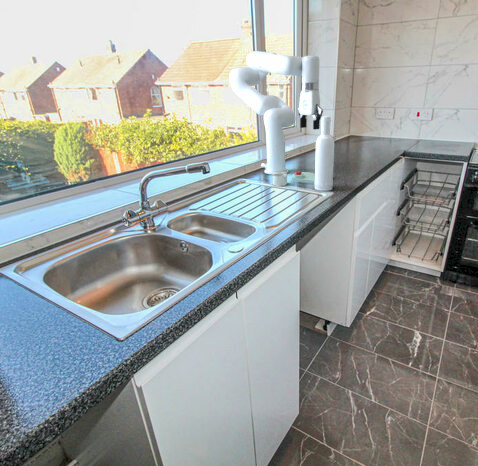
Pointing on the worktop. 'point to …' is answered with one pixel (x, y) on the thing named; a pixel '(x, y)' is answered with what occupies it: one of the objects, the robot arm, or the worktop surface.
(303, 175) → the scale
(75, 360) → the worktop surface
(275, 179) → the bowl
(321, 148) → the bottle
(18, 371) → the worktop surface
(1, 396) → the worktop surface
